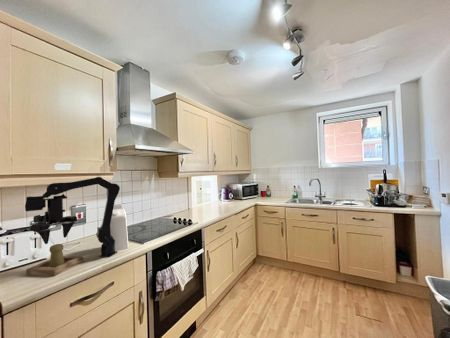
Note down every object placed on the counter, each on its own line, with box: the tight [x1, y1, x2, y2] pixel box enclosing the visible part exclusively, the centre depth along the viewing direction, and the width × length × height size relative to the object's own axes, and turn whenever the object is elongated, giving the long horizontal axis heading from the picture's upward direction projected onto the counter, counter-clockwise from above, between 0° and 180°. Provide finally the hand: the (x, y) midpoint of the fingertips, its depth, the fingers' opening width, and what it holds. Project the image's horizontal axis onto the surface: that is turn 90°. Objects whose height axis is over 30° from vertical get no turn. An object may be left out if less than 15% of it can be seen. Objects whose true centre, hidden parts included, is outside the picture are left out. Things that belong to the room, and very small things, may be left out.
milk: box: [110, 203, 129, 251], centre depth 122 cm, size 12×12×26 cm
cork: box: [49, 243, 64, 268], centre depth 97 cm, size 6×6×11 cm
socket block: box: [25, 255, 84, 277], centre depth 97 cm, size 15×15×2 cm
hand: (56, 240), depth 97 cm, fingers open, 9 cm apart
